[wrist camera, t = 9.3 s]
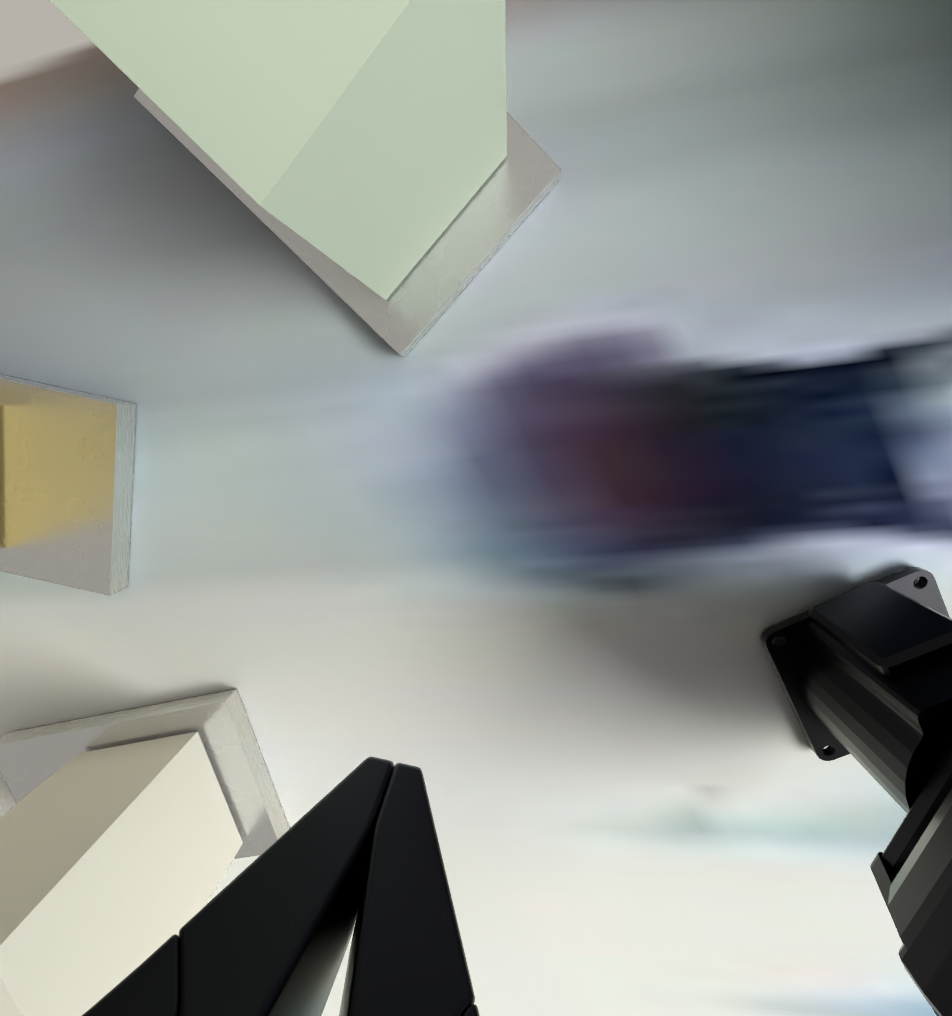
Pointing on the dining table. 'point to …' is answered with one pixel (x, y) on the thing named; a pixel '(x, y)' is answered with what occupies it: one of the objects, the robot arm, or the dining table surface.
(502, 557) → the dining table surface
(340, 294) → the track plates
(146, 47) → the sage block
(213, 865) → the cream block
